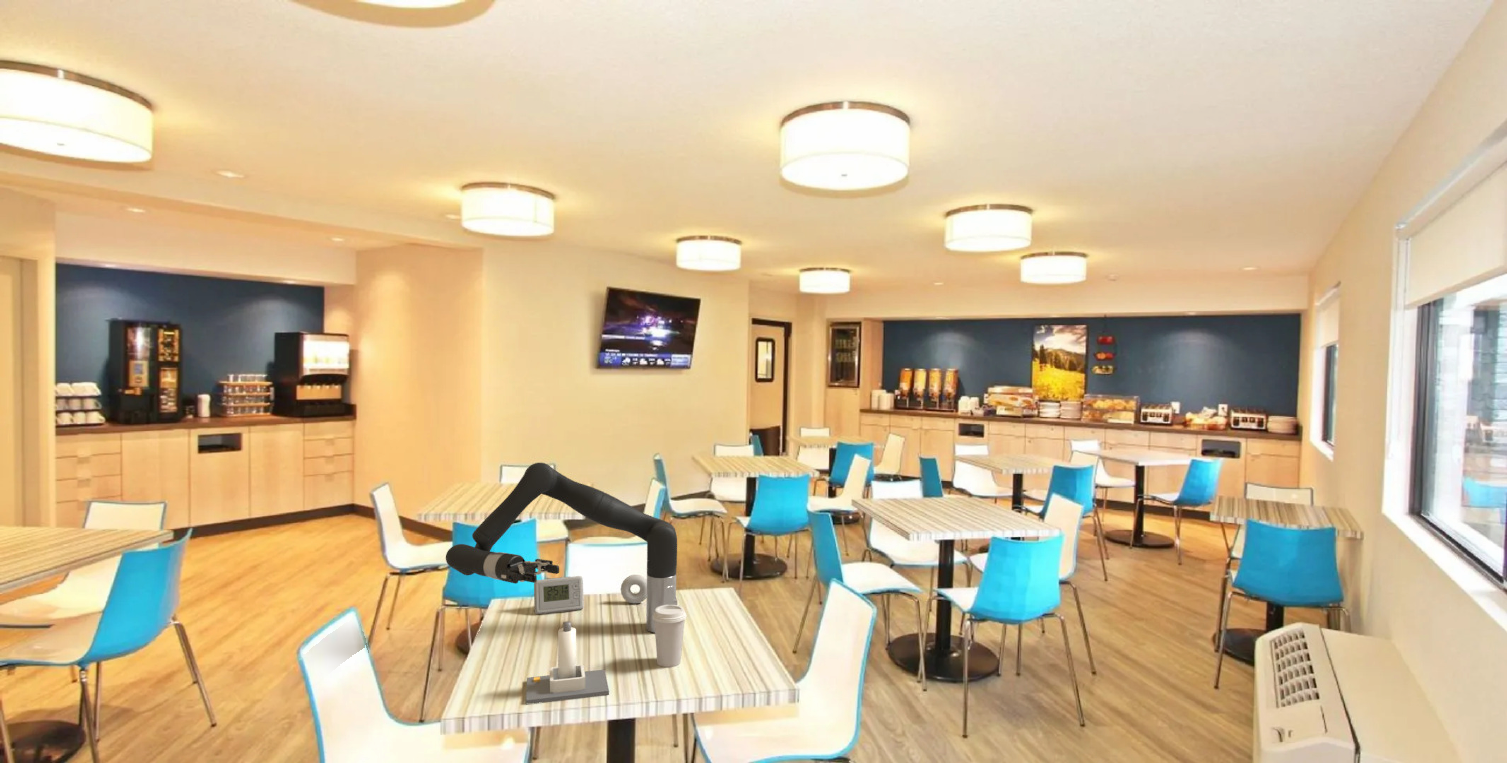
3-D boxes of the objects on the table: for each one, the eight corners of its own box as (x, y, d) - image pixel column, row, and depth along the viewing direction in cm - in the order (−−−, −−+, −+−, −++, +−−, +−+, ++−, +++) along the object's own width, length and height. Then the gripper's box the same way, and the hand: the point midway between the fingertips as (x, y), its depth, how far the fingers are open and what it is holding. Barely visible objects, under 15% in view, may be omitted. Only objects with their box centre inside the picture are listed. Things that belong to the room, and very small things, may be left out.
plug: (575, 679, 189) (575, 618, 188) (576, 686, 185) (576, 624, 184) (557, 681, 188) (558, 620, 187) (558, 688, 183) (558, 626, 183)
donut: (649, 601, 253) (650, 573, 253) (649, 604, 249) (649, 576, 249) (621, 601, 252) (621, 573, 252) (619, 605, 249) (620, 576, 248)
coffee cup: (691, 658, 206) (692, 606, 205) (677, 671, 197) (677, 617, 196) (661, 653, 209) (661, 601, 208) (645, 666, 200) (646, 612, 199)
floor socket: (604, 672, 195) (604, 658, 195) (608, 694, 183) (609, 679, 183) (526, 681, 190) (526, 666, 189) (526, 704, 177) (526, 688, 177)
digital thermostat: (532, 616, 237) (532, 583, 237) (535, 606, 246) (535, 575, 246) (583, 613, 240) (583, 582, 240) (584, 604, 249) (584, 573, 249)
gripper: (484, 559, 198) (527, 567, 191) (522, 547, 211) (565, 553, 203) (484, 587, 199) (528, 595, 191) (523, 572, 211) (565, 580, 204)
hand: (547, 574), depth 197 cm, fingers open, 8 cm apart
